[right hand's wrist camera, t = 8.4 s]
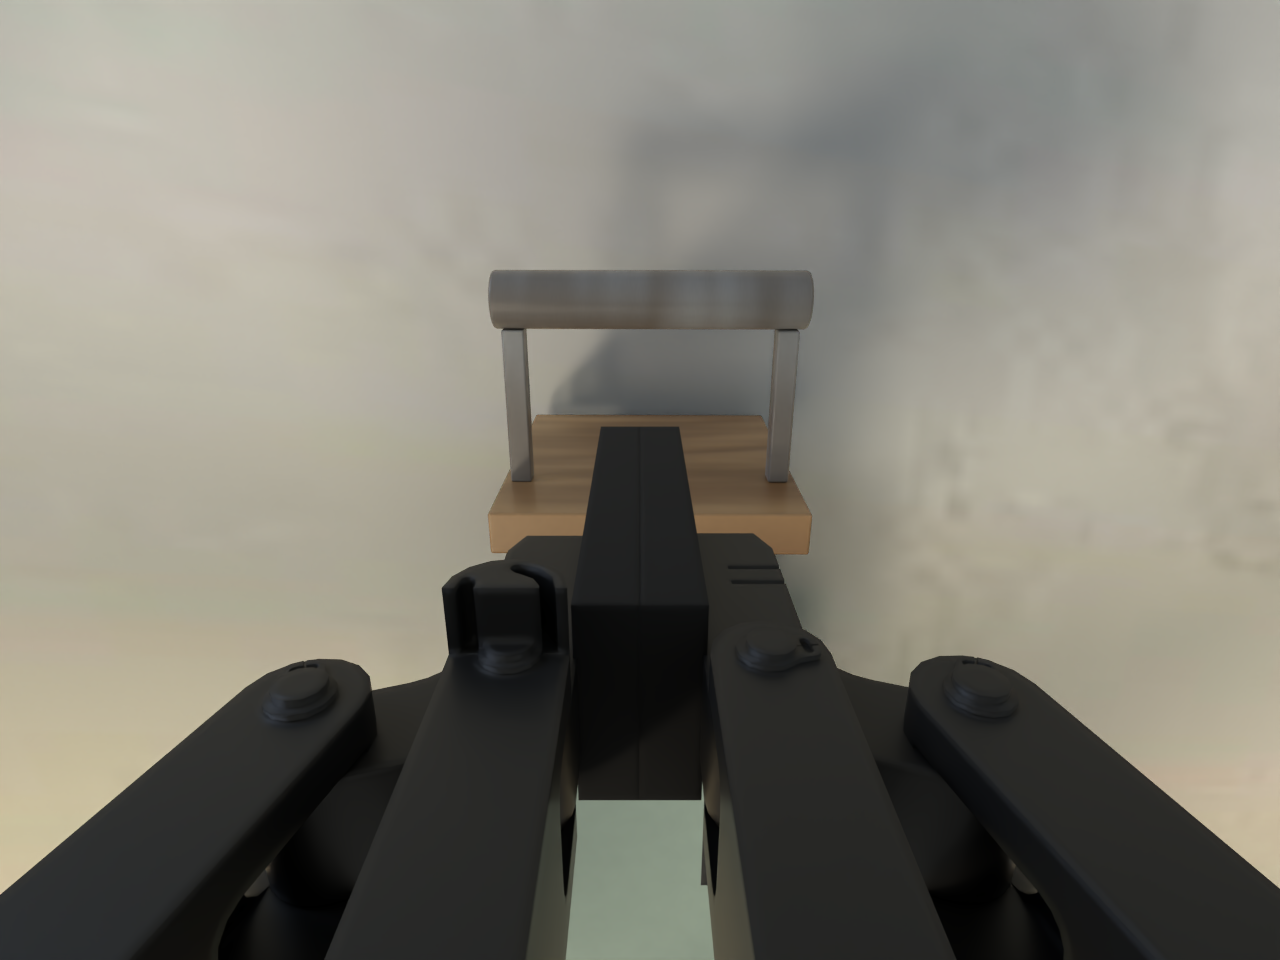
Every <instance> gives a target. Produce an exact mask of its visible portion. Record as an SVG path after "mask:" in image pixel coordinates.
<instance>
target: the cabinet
mask: <svg viewBox="0 0 1280 960" xmlns="http://www.w3.org/2000/svg"><path fill="white" fill-rule="evenodd" d="M703 817H704V793H703V784H702V800H578V788H577V797H576V818H577V845H576V856H575V866H574V877H573V887H572V898H571V909H570V919H569V930H568V941H567V951H566V960H714V950H713V940H712V929H711V918H710V908H709V897H708V886H707V885H701V866H702V842H703Z"/></svg>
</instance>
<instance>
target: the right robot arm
mask: <svg viewBox="0 0 1280 960" xmlns="http://www.w3.org/2000/svg"><path fill="white" fill-rule="evenodd" d="M442 595H443V604H444V613H445V622H446V631H447V640H448V649H449V656H448V658H447V661H446V663H445V666H444V668H443V671H442V672H440V673H438V674H436V675H433V676H431V677H429V678H426V679H422V680H418V681H415V682H411V683H407V684H402V685H397V686H392V687H387V688H382V689H378V690H373V691H372V688H371V682H370V676H369V675H368V674H367V673H366V672H365V671H364V670H363V669H362V668H361V667H360V666H359V665H356V664H353V663H350V662H347V661H344V660H337V659H316V660H307V661H305V662H304V661H301V662H297V663H293V664H290V665H288V666H286V667H283V668H280V669H278V670H275V671H273V672H270V673H268V674H266V675H264V676H263V677H261V678H260V679H258V680H257V681H255V682H253V683H252V684H250V685H249V686H247V687H246V688H245V689H243V690H242V691H241V692H240V693H239V694H237V695H236V696H235V697H234V698H233V699H232V700H230V701H229V702H228V703H227V704H226V705H224V706H223V707H222V708H221V709H220V710H219V711H217V712H216V713H215V714H214V715H213V716H211V717H210V718H209V719H208V720H207V721H206V722H204V723H203V724H202V725H201V726H200V727H198V728H197V729H196V730H195V731H194V732H192V733H191V734H190V735H189V736H188V737H187V738H185V739H184V740H183V741H182V742H181V743H179V744H178V745H177V746H176V747H175V748H174V749H172V750H171V751H170V752H169V753H168V754H166V755H165V756H164V757H163V758H162V759H161V760H159V761H158V762H157V763H156V764H155V765H153V766H152V767H151V768H150V769H149V770H147V771H146V772H145V773H144V774H143V775H142V776H140V777H139V778H138V779H137V780H136V781H134V782H133V783H132V784H131V785H130V786H129V787H127V788H126V789H125V790H124V791H123V792H121V793H120V794H119V795H118V796H117V797H116V798H114V799H113V800H112V801H111V802H110V803H108V804H107V805H106V806H105V807H104V808H103V809H101V810H100V811H99V812H98V813H97V814H95V815H94V816H93V817H92V818H91V819H89V820H88V821H87V822H86V823H85V824H84V825H82V826H81V827H80V828H79V829H78V830H76V831H75V832H74V833H73V834H72V835H71V836H69V837H68V838H67V839H66V840H65V841H63V842H62V843H61V844H60V845H59V846H58V847H56V848H55V849H54V850H53V851H52V852H50V853H49V854H48V855H47V856H46V857H44V858H43V859H42V860H41V861H40V862H39V863H37V864H36V865H35V866H34V867H33V868H31V869H30V870H29V871H28V872H27V873H26V874H24V875H23V876H22V877H21V878H20V879H18V880H17V881H16V882H15V883H14V884H13V885H11V886H10V887H9V888H8V889H7V890H5V891H4V892H3V893H2V894H1V895H0V960H566V951H567V941H568V930H569V919H570V909H571V898H572V887H573V877H574V866H575V856H576V845H577V818H576V797H577V788H578V800H702V784H703V793H704V817H703V842H702V866H701V885H707V886H708V897H709V908H710V918H711V929H712V940H713V950H714V960H1280V889H1279V888H1278V887H1277V886H1276V885H1275V884H1273V883H1272V882H1271V881H1270V880H1269V879H1267V878H1266V877H1265V876H1264V875H1263V874H1261V873H1260V872H1259V871H1258V870H1257V869H1256V868H1254V867H1253V866H1252V865H1251V864H1250V863H1248V862H1247V861H1246V860H1245V859H1244V858H1242V857H1241V856H1240V855H1239V854H1238V853H1236V852H1235V851H1234V850H1233V849H1232V848H1230V847H1229V846H1228V845H1227V844H1226V843H1224V842H1223V841H1222V840H1221V839H1220V838H1218V837H1217V836H1216V835H1215V834H1214V833H1213V832H1211V831H1210V830H1209V829H1208V828H1207V827H1205V826H1204V825H1203V824H1202V823H1201V822H1199V821H1198V820H1197V819H1196V818H1195V817H1193V816H1192V815H1191V814H1190V813H1189V812H1187V811H1186V810H1185V809H1184V808H1183V807H1181V806H1180V805H1179V804H1178V803H1177V802H1175V801H1174V800H1173V799H1172V798H1171V797H1170V796H1168V795H1167V794H1166V793H1165V792H1164V791H1162V790H1161V789H1160V788H1159V787H1158V786H1156V785H1155V784H1154V783H1153V782H1152V781H1150V780H1149V779H1148V778H1147V777H1146V776H1144V775H1143V774H1142V773H1141V772H1140V771H1138V770H1137V769H1136V768H1135V767H1134V766H1132V765H1131V764H1130V763H1129V762H1128V761H1127V760H1125V759H1124V758H1123V757H1122V756H1121V755H1119V754H1118V753H1117V752H1116V751H1115V750H1113V749H1112V748H1111V747H1110V746H1109V745H1107V744H1106V743H1105V742H1104V741H1103V740H1101V739H1100V738H1099V737H1098V736H1097V735H1095V734H1094V733H1093V732H1092V731H1091V730H1089V729H1088V728H1087V727H1086V726H1085V725H1084V724H1082V723H1081V722H1080V721H1079V720H1078V719H1076V718H1075V717H1074V716H1073V715H1072V714H1070V713H1069V712H1068V711H1067V710H1066V709H1064V708H1063V707H1062V706H1061V705H1060V704H1058V703H1057V702H1056V701H1055V700H1054V699H1052V698H1051V697H1050V696H1049V695H1048V694H1046V693H1045V692H1044V691H1043V690H1042V689H1041V688H1039V687H1038V686H1037V685H1036V684H1034V683H1033V682H1031V681H1030V680H1028V679H1027V678H1025V677H1024V676H1022V675H1020V674H1019V673H1017V672H1016V671H1014V670H1012V669H1009V668H1007V667H1004V666H1002V665H999V664H996V663H994V662H992V661H989V660H985V659H981V658H974V657H969V656H938V657H935V658H932V659H929V660H926V661H923V662H921V663H920V664H919V665H918V666H917V667H916V668H915V669H914V670H913V671H912V672H911V676H910V682H909V687H904V686H899V685H894V684H889V683H884V682H879V681H874V680H870V679H866V678H863V677H859V676H855V675H852V674H850V673H847V672H845V671H843V670H840V669H838V668H837V667H836V665H835V662H834V660H833V657H832V655H831V653H830V652H829V650H828V649H827V648H826V646H825V645H824V644H823V642H822V641H821V640H820V639H818V638H816V637H815V636H813V635H812V634H810V633H809V632H807V631H805V630H803V629H802V627H801V624H800V621H799V619H798V616H797V613H796V611H795V608H794V605H793V603H792V600H791V597H790V595H789V592H788V589H787V587H786V584H784V578H783V576H782V573H781V570H780V569H779V565H778V562H777V560H776V557H775V554H774V552H773V549H772V548H771V547H770V546H769V545H768V544H766V543H765V542H764V541H762V540H761V539H760V538H759V537H757V536H756V535H755V534H754V533H697V530H696V524H695V518H694V512H693V506H692V500H691V494H690V488H689V482H688V476H687V470H686V465H685V459H684V453H683V447H682V441H681V435H680V429H679V427H601V429H600V435H599V441H598V447H597V453H596V459H595V464H594V470H593V476H592V482H591V488H590V494H589V500H588V506H587V512H586V518H585V524H584V530H583V536H526V537H525V538H523V539H522V540H521V541H519V542H518V543H517V544H516V545H514V546H513V547H512V548H511V549H509V550H508V552H507V555H506V557H505V560H498V561H490V562H486V563H483V564H479V565H475V566H472V567H469V568H467V569H465V570H463V571H461V572H460V573H458V574H456V575H454V576H452V577H451V578H450V579H449V581H448V582H447V583H446V584H445V585H444V586H443V587H442Z"/></svg>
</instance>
